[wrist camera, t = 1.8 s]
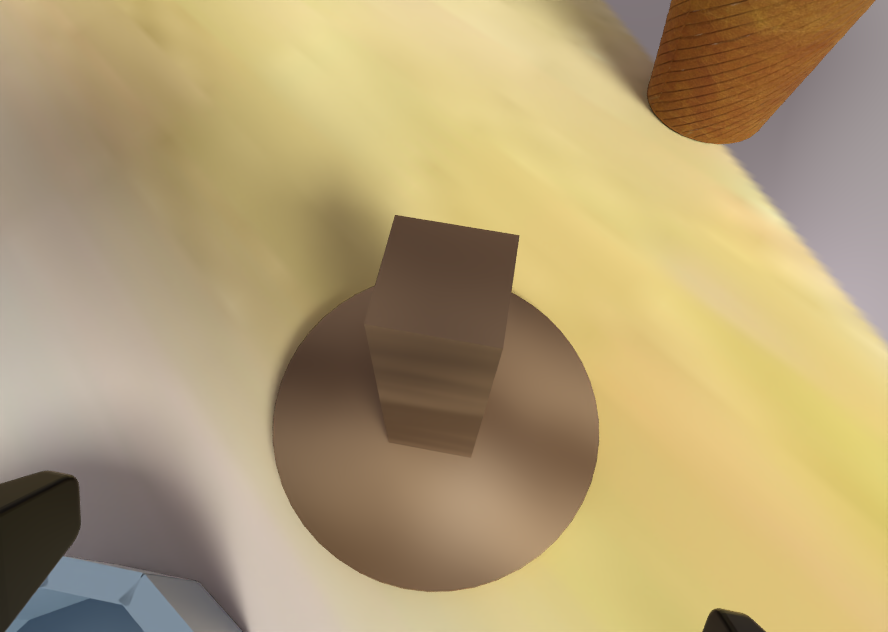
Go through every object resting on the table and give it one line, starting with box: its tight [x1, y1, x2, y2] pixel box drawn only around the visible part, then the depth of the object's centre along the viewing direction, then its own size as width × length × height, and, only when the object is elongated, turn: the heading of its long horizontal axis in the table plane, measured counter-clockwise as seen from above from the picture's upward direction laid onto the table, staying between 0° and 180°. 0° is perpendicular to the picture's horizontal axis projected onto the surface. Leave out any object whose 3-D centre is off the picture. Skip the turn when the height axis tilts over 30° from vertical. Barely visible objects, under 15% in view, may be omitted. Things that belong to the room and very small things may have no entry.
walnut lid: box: [273, 215, 599, 592], centre depth 17 cm, size 12×12×10 cm
